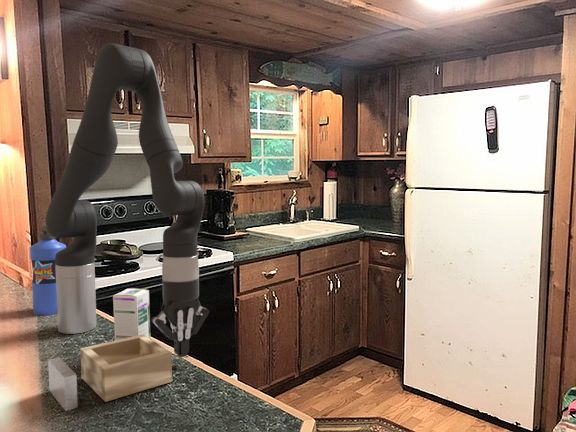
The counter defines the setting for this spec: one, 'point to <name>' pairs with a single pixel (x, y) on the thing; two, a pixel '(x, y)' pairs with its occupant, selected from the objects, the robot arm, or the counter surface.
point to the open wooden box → (125, 366)
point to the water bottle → (44, 273)
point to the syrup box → (131, 313)
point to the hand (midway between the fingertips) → (181, 355)
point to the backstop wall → (63, 383)
